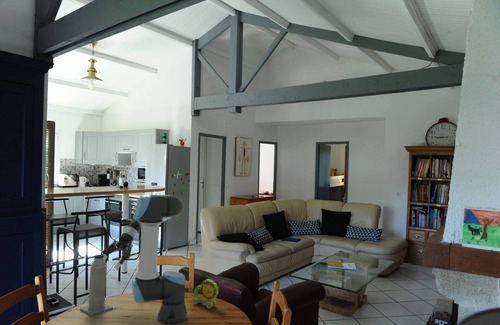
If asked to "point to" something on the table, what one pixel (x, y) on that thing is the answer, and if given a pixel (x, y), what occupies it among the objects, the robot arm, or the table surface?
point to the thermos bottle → (97, 283)
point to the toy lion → (206, 293)
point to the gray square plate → (95, 312)
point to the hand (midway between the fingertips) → (107, 266)
